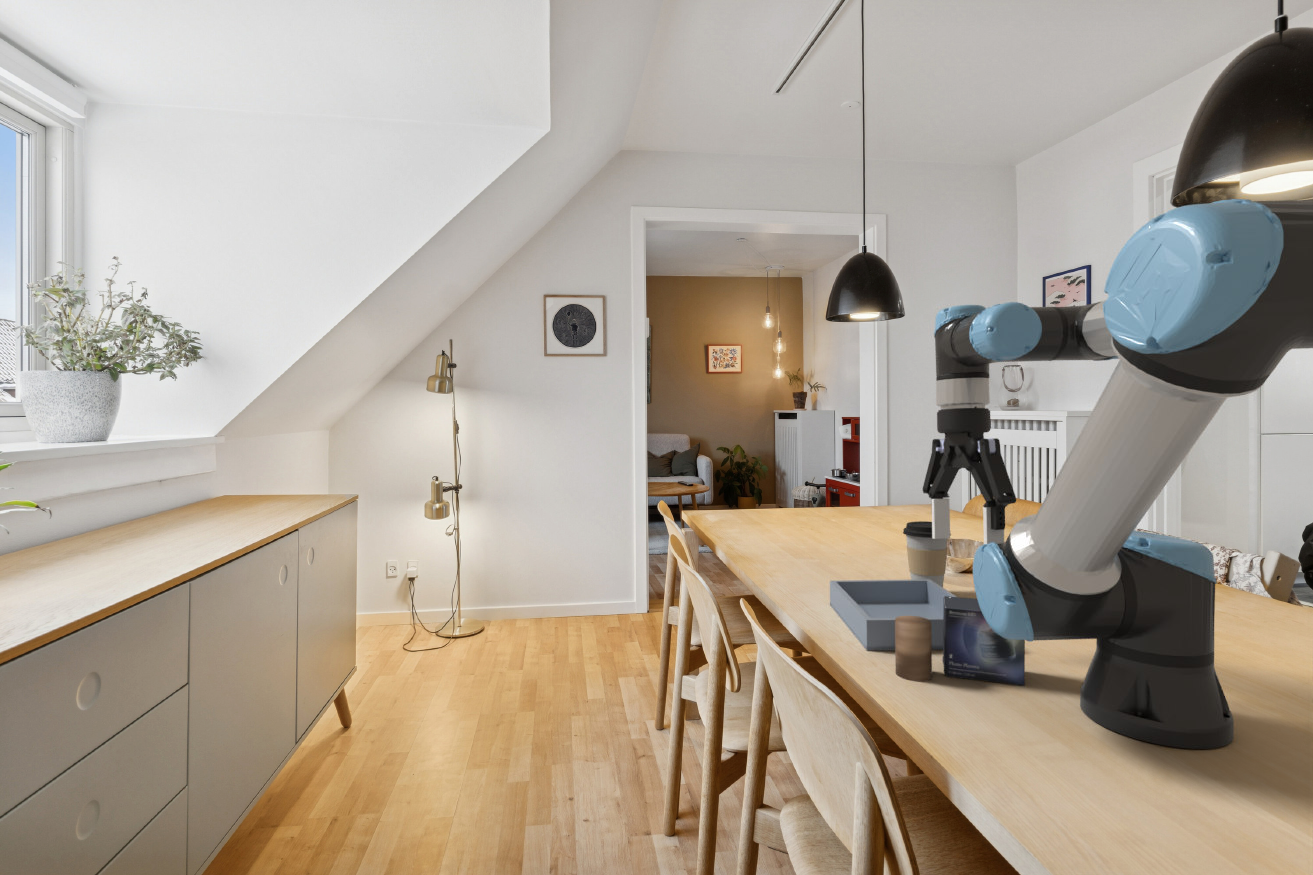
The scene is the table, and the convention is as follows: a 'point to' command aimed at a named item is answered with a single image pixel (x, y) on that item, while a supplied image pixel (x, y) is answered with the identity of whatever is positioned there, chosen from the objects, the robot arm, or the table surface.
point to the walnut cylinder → (913, 648)
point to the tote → (887, 608)
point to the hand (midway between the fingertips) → (966, 544)
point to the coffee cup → (925, 552)
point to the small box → (978, 646)
